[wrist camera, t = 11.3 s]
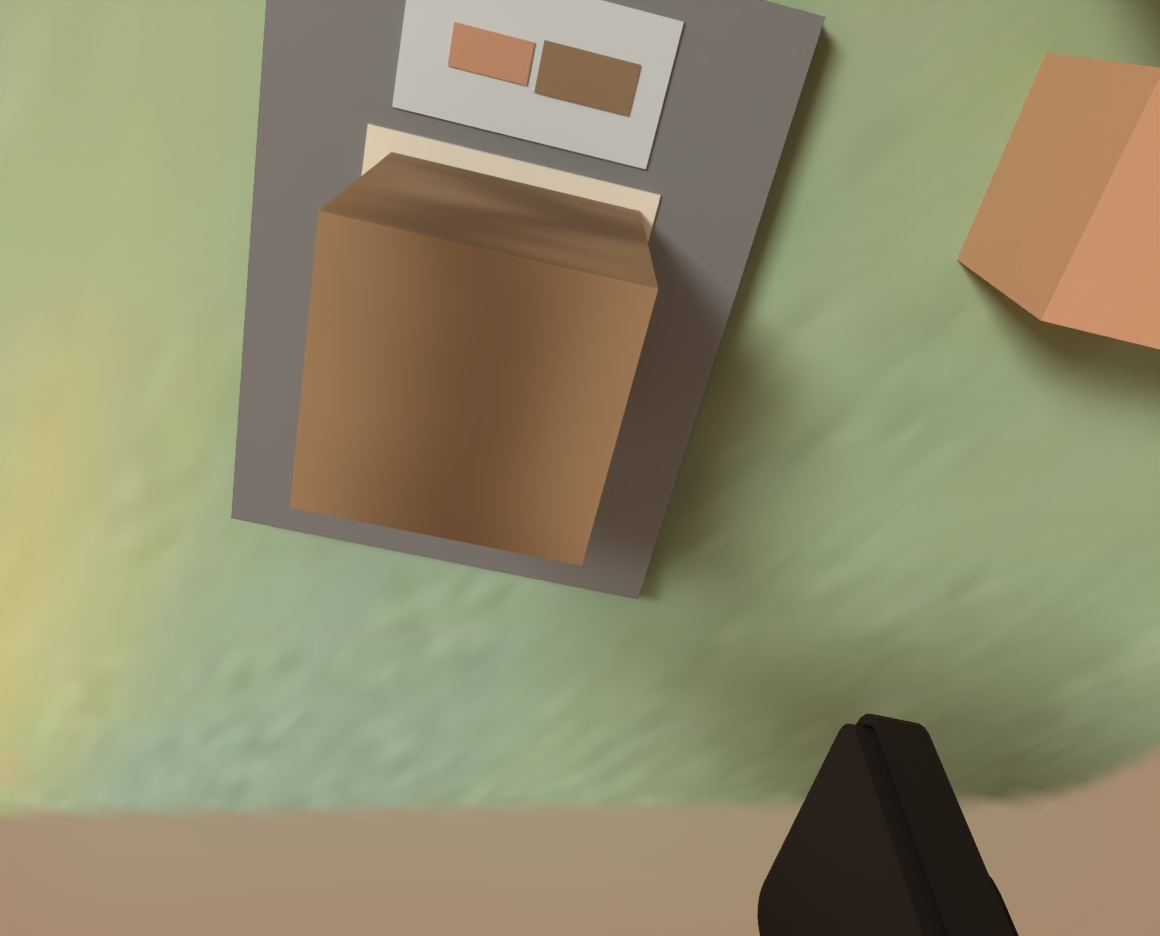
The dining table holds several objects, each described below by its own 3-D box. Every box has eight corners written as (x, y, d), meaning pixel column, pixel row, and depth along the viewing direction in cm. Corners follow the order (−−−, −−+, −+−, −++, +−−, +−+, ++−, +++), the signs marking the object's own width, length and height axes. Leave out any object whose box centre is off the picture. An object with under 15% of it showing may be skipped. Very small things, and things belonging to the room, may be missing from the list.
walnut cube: (640, 211, 22) (658, 288, 16) (583, 431, 25) (581, 565, 19) (391, 151, 21) (318, 210, 16) (361, 384, 24) (289, 507, 18)
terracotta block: (1237, 105, 22) (1402, 133, 17) (1133, 302, 24) (1255, 372, 20) (1044, 52, 21) (1164, 67, 17) (956, 258, 24) (1040, 320, 19)
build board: (815, 15, 21) (826, 17, 20) (636, 580, 28) (638, 602, 27) (289, -126, 20) (272, -132, 19) (243, 500, 27) (229, 520, 26)
